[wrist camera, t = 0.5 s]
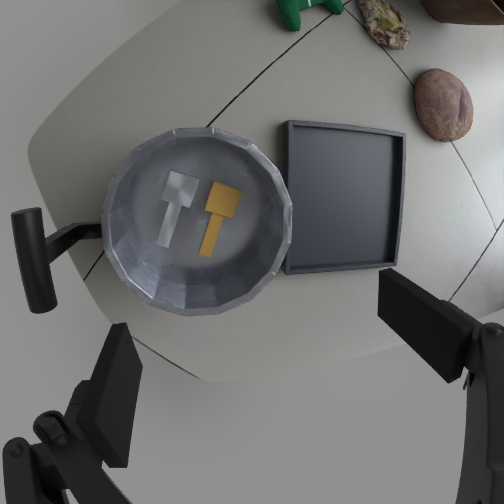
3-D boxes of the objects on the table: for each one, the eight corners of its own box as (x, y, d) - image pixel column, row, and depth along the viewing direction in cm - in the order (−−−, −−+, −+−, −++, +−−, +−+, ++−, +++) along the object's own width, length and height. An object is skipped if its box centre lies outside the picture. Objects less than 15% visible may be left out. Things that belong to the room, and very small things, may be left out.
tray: (398, 133, 39) (406, 133, 37) (389, 261, 45) (396, 266, 43) (283, 121, 37) (288, 120, 35) (281, 269, 42) (285, 275, 40)
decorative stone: (415, 140, 40) (439, 141, 35) (406, 65, 36) (429, 58, 31) (464, 143, 42) (487, 145, 36) (457, 76, 38) (479, 72, 33)
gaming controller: (328, 6, 34) (322, -27, 28) (346, 14, 32) (341, -22, 27) (278, 27, 34) (267, -9, 29) (294, 35, 32) (284, -3, 27)
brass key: (213, 180, 27) (214, 181, 26) (241, 190, 27) (242, 191, 27) (190, 251, 28) (190, 253, 28) (217, 259, 29) (218, 261, 28)
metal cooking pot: (275, 133, 27) (334, 117, 15) (273, 284, 31) (318, 358, 19) (76, 144, 24) (0, 140, 12) (92, 293, 28) (44, 369, 16)
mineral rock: (426, 39, 33) (404, 49, 31) (406, 47, 37) (383, 59, 35) (385, -17, 30) (358, -14, 28) (368, -6, 34) (340, 0, 32)
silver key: (170, 169, 26) (170, 170, 25) (199, 178, 27) (199, 179, 26) (149, 241, 27) (148, 242, 27) (176, 249, 28) (176, 251, 27)
